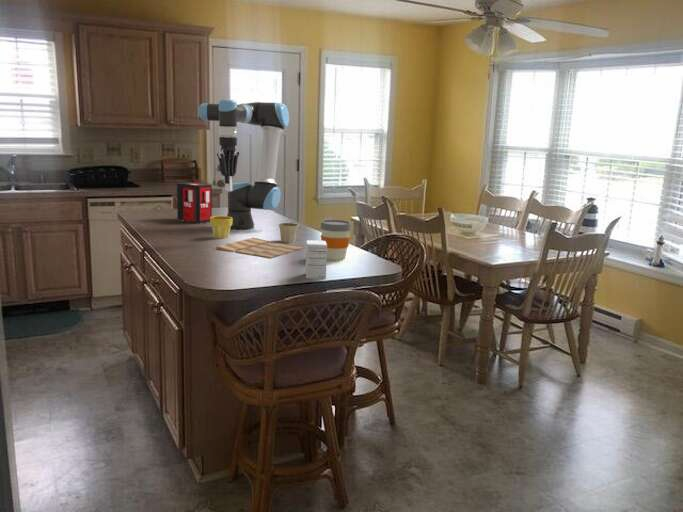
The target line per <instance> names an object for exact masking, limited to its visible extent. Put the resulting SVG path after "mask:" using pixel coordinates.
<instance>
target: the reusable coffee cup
mask: <svg viewBox="0 0 683 512" xmlns="http://www.w3.org/2000/svg"><path fill="white" fill-rule="evenodd" d="M320 230H321V234H320V241H326V243H327V260H328V259H329V260H330V261H343V259H344V260H345V259H346V256H347V255H346V254H347V250H348V248H349V245H350V244H349V243H350V239H351V235H350V233H351V231H352V223H351V221H348V220H347V221H346V220H343V219H342V220H340V219H326V220H322V221H321V223H320ZM329 260H328V261H329Z"/></svg>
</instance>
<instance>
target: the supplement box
mask: <svg viewBox="0 0 683 512" xmlns="http://www.w3.org/2000/svg"><path fill="white" fill-rule="evenodd" d="M305 241H306V242H305V278H306V279H318V280H319V279H320V280H321V279H322V280H323V279H324V280H325V279H327V260H328V259H327V243H326V241H321V240H311V239H308V240H305Z"/></svg>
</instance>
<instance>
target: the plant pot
mask: <svg viewBox="0 0 683 512" xmlns="http://www.w3.org/2000/svg"><path fill="white" fill-rule="evenodd" d="M232 222H233V218H232V217H228V216H227V215H212V217H210V222H209V224H210V227H211V230H212V235H213V239H214V240H215V239H226V238H227V239H228V238H229V235H230V232H231V229H230V228H231V225H232Z"/></svg>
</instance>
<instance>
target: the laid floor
mask: <svg viewBox="0 0 683 512" xmlns="http://www.w3.org/2000/svg"><path fill="white" fill-rule="evenodd" d="M304 249H306V246H301V245H295V244H290V243H283V242H275V241H270V242H269V243H265V244H261V245H257V246H253V247H250V248H246V249H242V250H238V251H235V252H234V253H235V254H242V255H248V256H255V257H258V258H259V257H260V258H265V259H274V258H277V257H281V256H285V255H287V254H290V253H293V252H297V251H301V250H304Z"/></svg>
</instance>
